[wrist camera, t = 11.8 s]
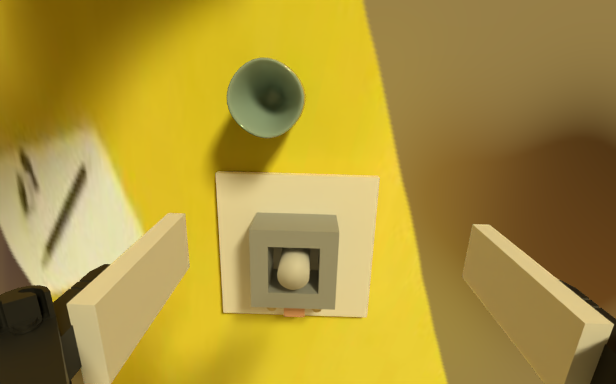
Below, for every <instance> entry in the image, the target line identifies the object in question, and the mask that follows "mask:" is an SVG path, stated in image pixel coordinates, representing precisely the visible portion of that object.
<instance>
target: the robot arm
mask: <svg viewBox="0 0 616 384" xmlns="http://www.w3.org/2000/svg"><path fill="white" fill-rule="evenodd" d="M189 267H190V266H189V254H188V243H187V231H186V219H185V214H180V213H168V214H167V215H166V216H164V217H163V218H162V219H161V220H160V221H159V222H158V223H157V224H156V225H154V226H153V227H152V228H151V229H150V230H149V231H148V232H147V233H145V234H144V235H143V236H142V237H141V238H140V239H139V240H138V241H136V242H135V243H134V244H133V245H132V246H131V247H130V248H129V249H128V250H126V251H125V252H124V253H123V254H122V255H121V256H120V257H119V258H117V259H116V260H115V261H114V262H113V263H112V264H104V265H102V266H100V267H98V268H96V269H94V270H92V271H90V272H89V273H88V274H87V275H85V276H84V277H83V278H82V279H81V280H80V282H77V283H76V284H75V285H73V286H72V287H71V289H69V290H68V291H66V292H65V293H64V294H63V295H62V296H60V297H59V298H58V299H57V300H56V301H54V302H52V298H51V293H50V290H49V289H48V288H47V287H44V286H40V285H37V286H26V287H21V288H17V289H14V290H11V291H8V292H5V293H4V294H1V295H0V384H72V382H71V379H72V378H73V376H74V375H75V374H76V373H77V372H78V370H79V369H80V368H81V372H82V376H83V380H84V383H85V384H111V383H112V381H113V380H114V378H115V377H116V375H117V374H118V372H119V371H120V369H121V368H122V366H123V365H124V363H125V362H126V360H127V359H128V357H129V356H130V355H131V353H132V352H133V350H134V349H135V347H136V346H137V344H138V343H139V341H140V340H141V338H142V337H143V335H144V334H145V332H146V331H147V329H148V328H149V326H150V325H151V323H152V322H153V320H154V319H155V317H156V316H157V314H158V313H159V312H160V310H161V309H162V307H163V306H164V304H165V303H166V301H167V300H168V298H169V297H170V295H171V294H172V292H173V291H174V289H175V288H176V286H177V285H178V283H179V282H180V280H181V279H182V277H183V276H184V274H185V273H186V271H187V270H188V269H189ZM462 278H463V279H464V280H465V282H466V283H467V284H468V285H469V287H470V288H471V289H472V291H473V292H474V293H475V294H476V296H477V297H478V298H479V300H480V301H481V302H482V304H483V305H484V306H485V307H486V309H487V310H488V311H489V313H490V314H491V315H492V316H493V318H494V319H495V321H496V322H497V323H498V324H499V326H500V327H501V328H502V330H503V331H504V332H505V333H506V335H507V336H508V337H509V339H510V340H511V341H512V342H513V344H514V345H515V346H516V348H517V349H518V350H519V352H520V353H521V354H522V355H523V357H524V358H525V359H526V361H527V362H528V363H529V365H530V366H531V367H532V369H533V370H534V371H535V372H536V374H537V375H538V376H539V377H540V379H541V380H542V381H543V383H544V384H616V319H615V318H614V317H612V316H611V315H610V314H609V313H607V312H606V311H604V310H603V309H602V308H599V306H598V305H597V304H596V303H594V302H593V301H592V300H589V298H588V297H587V296H585V295H584V294H583V293H581V292H580V291H579V290H578V289H576V288H575V287H573V286H571V285H569V284H567V283H565V282H563V281H561V280H558V279H556V278H555V277H554V276H553V275H551V274H550V273H549V272H548V271H546V270H545V269H544V268H543V267H541V266H540V265H539V264H538V263H536V262H535V261H534V260H533V259H531V258H530V257H529V256H528V255H526V254H525V253H524V252H523V251H522V250H520V249H519V248H517V246H515V245H514V244H512V242H510V241H509V240H508V239H506V238H505V237H504V236H503V235H501V234H500V233H499V232H498V231H497V230H495V229H494V228H492V227H491V226H490V225H480V224H473V225H472V230H471V234H470V239H469V245H468V250H467V254H466V260H465V265H464V269H463V275H462Z"/></svg>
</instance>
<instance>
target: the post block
mask: <svg viewBox="0 0 616 384" xmlns="http://www.w3.org/2000/svg"><path fill="white" fill-rule="evenodd" d="M379 179H380V178H379V177H378V176H367V175H333V174H299V173H265V172H230V171H218V172H216V190H217V208H218V226H219V243H220V261H221V279H222V296H223V313H251V314H281V315H284V308H268V307H251V283H250V248H249V229H250V226H251V224H252V222H253V220H254V218H255V216H256V213H257V212H261V213H294V214H328V215H336V216H337V222H338V227H339V248H338V265H337V283H336V300H335V310H329V309H305V315H312V316H342V317H367V311H368V300H369V289H370V278H371V267H372V256H373V245H374V234H375V223H376V212H377V201H378V190H379ZM318 253H319V249H316V248H284V247H273V269H278V272H277V278H278V281H279V283H280V284H281V285H282V286H283V287H285V288H287V289H290V290H298V289H301V288H303V287H304V286H305V285H306V284H307V283H308V281H309V274H310V270H318Z"/></svg>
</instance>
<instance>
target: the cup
mask: <svg viewBox="0 0 616 384" xmlns="http://www.w3.org/2000/svg"><path fill="white" fill-rule="evenodd" d="M305 101H306V94H305V89H304V86H303V84H302V82H301V80H300V79H299V77H298V76H297V75H296V74H295V73H294V72H293V71H292V70H291V69H290V68H289V67H288V66H286V65H285V64H283V63H281V62H279V61H277V60H275V59H271V58H257V59H253V60H251V61H249V62H247V63H245V64H244V65H243V66H242V67H240V68H239V70H238V71H237V72H236V73H235V74H234V76H233V78H232V79H231V81H230V84H229V87H228V91H227V105H228V108H229V111H230V113H231V115H232V117H233V118H234V120H235V121H236V122H237V123H238V124H239V125H240V126H241V127H242V128H243V129H244V130H246V131H247V132H249V133H250V134H253V135H255V136H257V137H261V138H274V137H278V136H280V135H282V134H284V133H286V132H287V131H288V130H290V129H291V128H292V127H293V126H294V125H295V124H296V122H297V121H298V119H299V118H300V116H301V114H302V112H303V110H304V106H305Z"/></svg>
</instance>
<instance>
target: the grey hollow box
mask: <svg viewBox="0 0 616 384" xmlns="http://www.w3.org/2000/svg"><path fill="white" fill-rule="evenodd" d="M273 247H284V248H316V249H319V253H318V270H310V274H309V281H308V283H307V284H306V285H305V286H304V287H303V288H301V289H298V290H290V289H287V288H285V287H283V286H282V285H281V284H280V283H279V281H278V278H277V272H278V269H273ZM249 248H250V283H251V307H268V308H284V317H305V309H329V310H335V300H336V283H337V265H338V248H339V227H338V222H337V216H336V215H328V214H294V213H261V212H257V213H256V216H255V218H254V220H253V222H252V224H251V226H250V229H249Z"/></svg>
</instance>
